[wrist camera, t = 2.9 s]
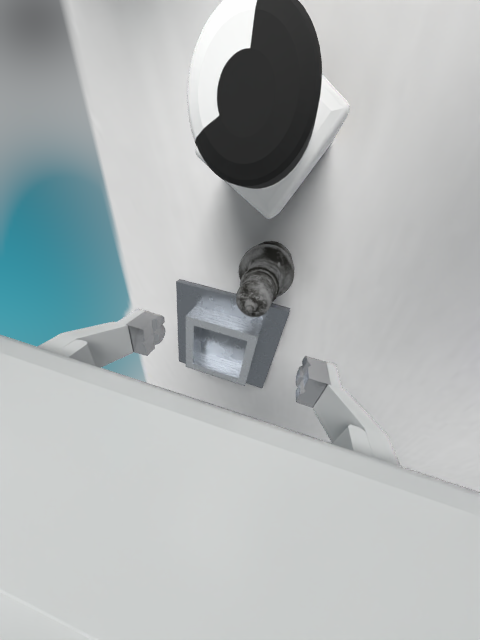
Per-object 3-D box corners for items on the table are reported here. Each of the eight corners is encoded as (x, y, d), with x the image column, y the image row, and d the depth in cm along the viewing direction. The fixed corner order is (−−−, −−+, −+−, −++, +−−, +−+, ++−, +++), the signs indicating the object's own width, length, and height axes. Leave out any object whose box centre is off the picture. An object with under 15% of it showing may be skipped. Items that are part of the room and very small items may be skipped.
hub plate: (289, 308, 25) (288, 324, 22) (263, 383, 34) (259, 403, 31) (179, 279, 27) (163, 289, 24) (181, 357, 36) (170, 373, 33)
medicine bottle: (334, 139, 16) (389, 45, 6) (277, 215, 20) (257, 229, 10) (271, 74, 15) (221, -158, 5) (224, 167, 19) (146, 131, 9)
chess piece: (252, 290, 25) (223, 347, 16) (240, 245, 23) (196, 279, 13) (298, 283, 23) (297, 342, 13) (290, 232, 21) (283, 260, 11)
